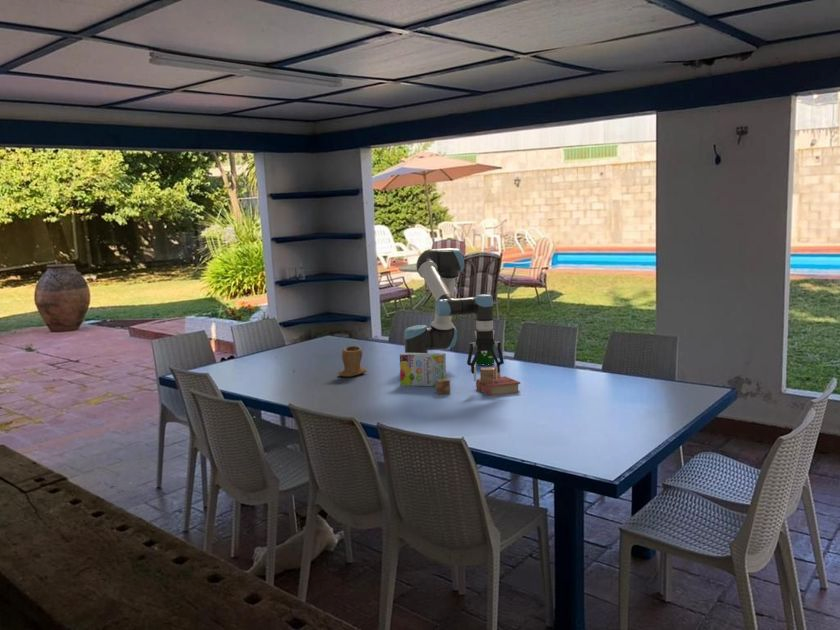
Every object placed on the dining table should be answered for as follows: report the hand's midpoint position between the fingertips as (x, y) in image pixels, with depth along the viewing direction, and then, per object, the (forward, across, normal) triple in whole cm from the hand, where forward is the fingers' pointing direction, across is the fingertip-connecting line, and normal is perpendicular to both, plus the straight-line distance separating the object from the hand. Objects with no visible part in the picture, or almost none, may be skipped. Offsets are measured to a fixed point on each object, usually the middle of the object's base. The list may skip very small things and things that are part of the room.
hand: (485, 380), depth 321 cm
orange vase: (+6, -61, +47) cm, 77 cm away
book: (+6, +6, +2) cm, 8 cm away
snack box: (+6, -27, +19) cm, 34 cm away
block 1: (+6, -19, +1) cm, 20 cm away
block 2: (+1, 0, 0) cm, 1 cm away
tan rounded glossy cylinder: (+6, +5, +13) cm, 15 cm away
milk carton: (+6, +8, +64) cm, 65 cm away
